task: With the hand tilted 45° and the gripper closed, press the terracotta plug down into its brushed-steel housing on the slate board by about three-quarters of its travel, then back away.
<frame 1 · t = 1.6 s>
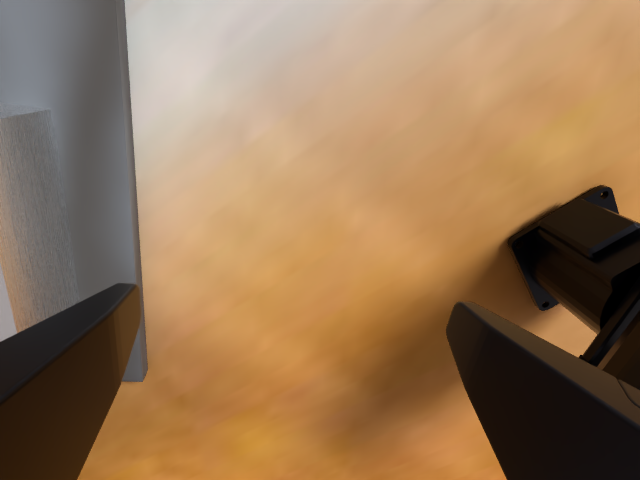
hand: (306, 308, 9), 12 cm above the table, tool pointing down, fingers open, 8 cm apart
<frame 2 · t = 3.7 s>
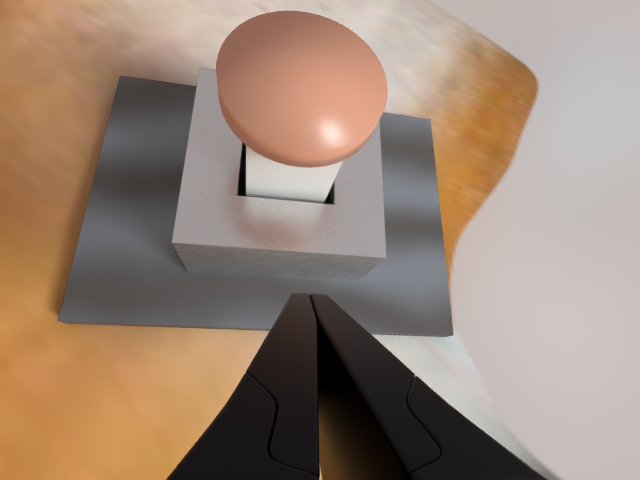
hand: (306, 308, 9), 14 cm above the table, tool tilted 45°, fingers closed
slate board: (279, 207, 25), on the table
terracotta plug: (294, 130, 17), point 8 cm above the table, slide at 0.0 cm
steel housing: (280, 200, 24), resting on slate board
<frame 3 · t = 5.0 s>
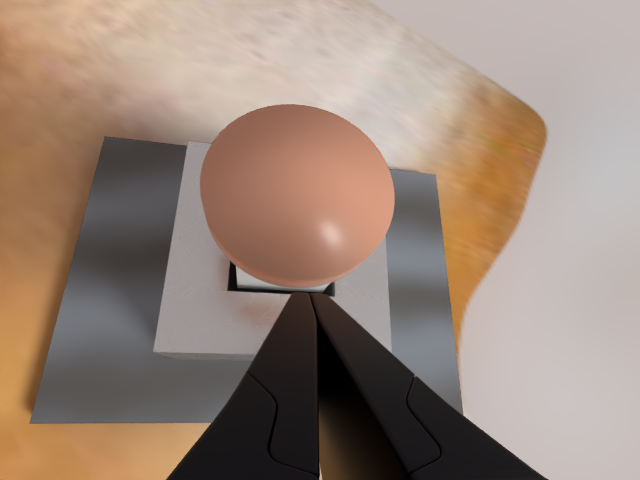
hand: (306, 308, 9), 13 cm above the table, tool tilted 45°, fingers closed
slate board: (275, 276, 23), on the table
terracotta plug: (290, 223, 15), point 8 cm above the table, slide at 0.0 cm
steel housing: (276, 272, 22), resting on slate board
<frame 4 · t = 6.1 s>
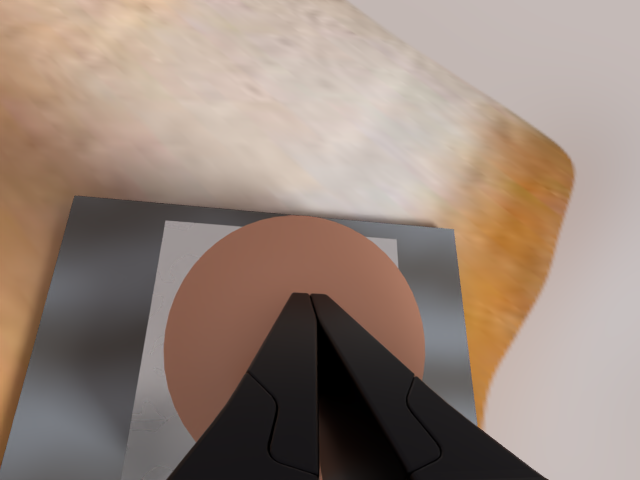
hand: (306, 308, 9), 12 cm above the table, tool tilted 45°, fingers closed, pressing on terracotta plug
slate board: (271, 358, 20), on the table
terracotta plug: (288, 345, 12), point 8 cm above the table, slide at 0.0 cm, touching gripper
steel housing: (272, 357, 19), resting on slate board
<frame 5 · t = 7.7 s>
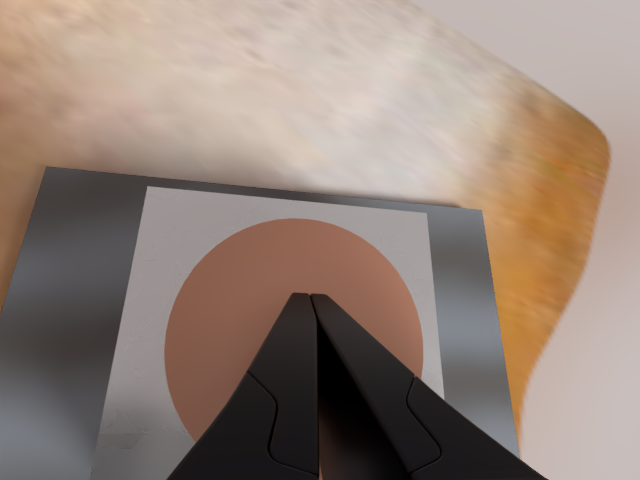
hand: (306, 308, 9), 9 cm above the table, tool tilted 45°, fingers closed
slate board: (275, 355, 17), on the table
terracotta plug: (287, 347, 12), point 5 cm above the table, slide at 3.2 cm
steel housing: (277, 354, 16), resting on slate board
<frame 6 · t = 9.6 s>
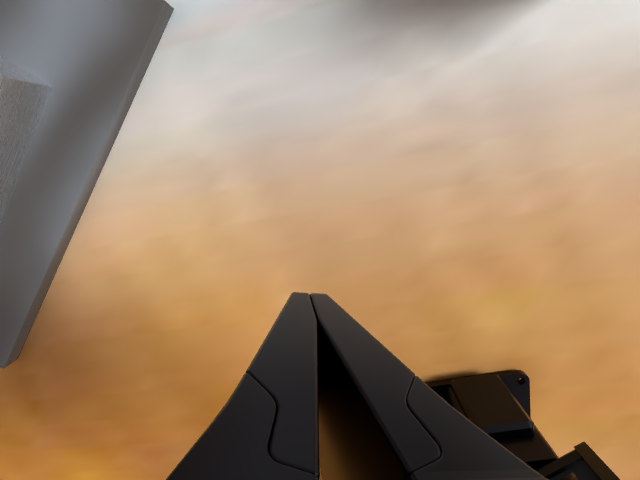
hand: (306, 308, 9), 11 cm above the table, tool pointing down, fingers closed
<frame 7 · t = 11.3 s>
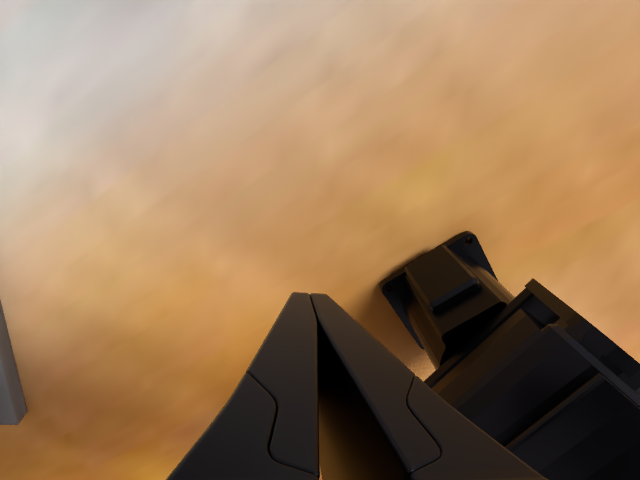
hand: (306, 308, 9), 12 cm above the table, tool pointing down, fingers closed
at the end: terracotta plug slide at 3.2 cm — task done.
